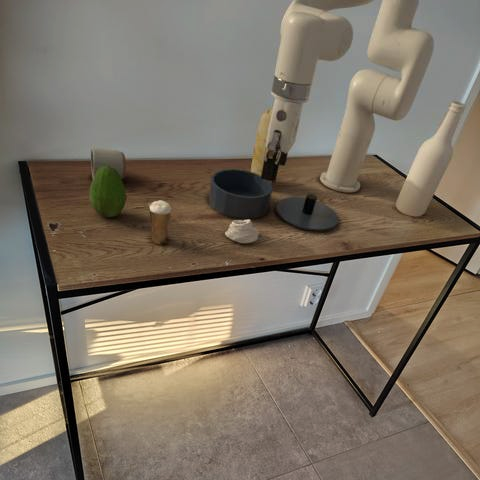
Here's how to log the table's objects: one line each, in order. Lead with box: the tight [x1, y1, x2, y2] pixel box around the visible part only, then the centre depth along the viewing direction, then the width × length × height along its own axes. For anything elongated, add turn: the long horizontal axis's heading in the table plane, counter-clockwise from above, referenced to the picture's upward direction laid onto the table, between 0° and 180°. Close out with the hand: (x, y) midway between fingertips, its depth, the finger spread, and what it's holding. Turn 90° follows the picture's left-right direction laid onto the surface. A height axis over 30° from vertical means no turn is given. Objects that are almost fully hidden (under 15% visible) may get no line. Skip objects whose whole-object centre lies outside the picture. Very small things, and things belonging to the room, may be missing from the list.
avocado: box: [89, 165, 128, 218], centre depth 98 cm, size 8×8×12 cm
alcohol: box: [395, 100, 467, 218], centre depth 120 cm, size 9×9×30 cm
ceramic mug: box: [90, 147, 127, 181], centre depth 113 cm, size 11×8×8 cm
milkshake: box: [145, 196, 172, 245], centre depth 94 cm, size 4×5×10 cm
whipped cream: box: [224, 219, 259, 244], centre depth 103 cm, size 8×7×5 cm
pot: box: [208, 168, 273, 220], centre depth 114 cm, size 16×16×6 cm
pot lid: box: [275, 193, 339, 232], centre depth 115 cm, size 17×17×6 cm
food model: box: [250, 107, 273, 184], centre depth 121 cm, size 10×7×20 cm
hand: (273, 171), depth 98 cm, fingers open, 9 cm apart
